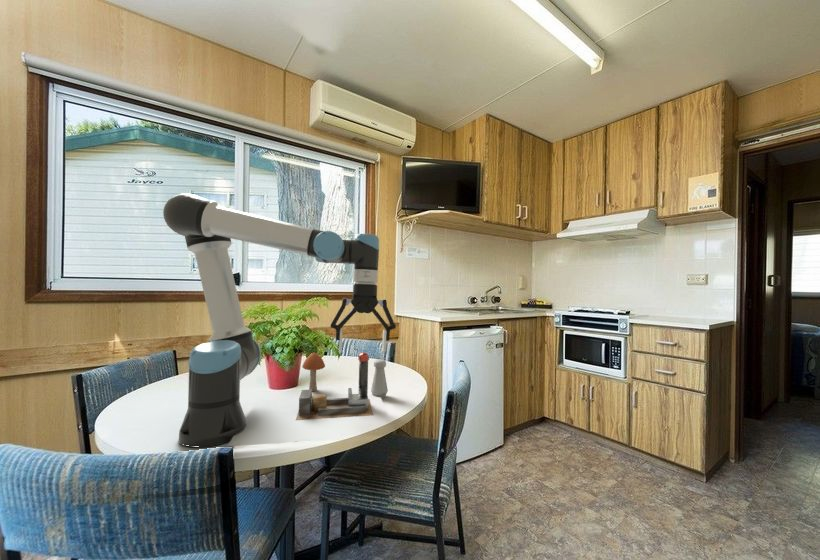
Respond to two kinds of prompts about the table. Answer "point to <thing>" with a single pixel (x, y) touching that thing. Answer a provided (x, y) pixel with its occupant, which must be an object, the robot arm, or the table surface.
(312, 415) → the press bench
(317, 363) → the mushroom
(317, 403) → the brown wooden cube
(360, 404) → the handle
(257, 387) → the table surface
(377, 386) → the salt shaker
